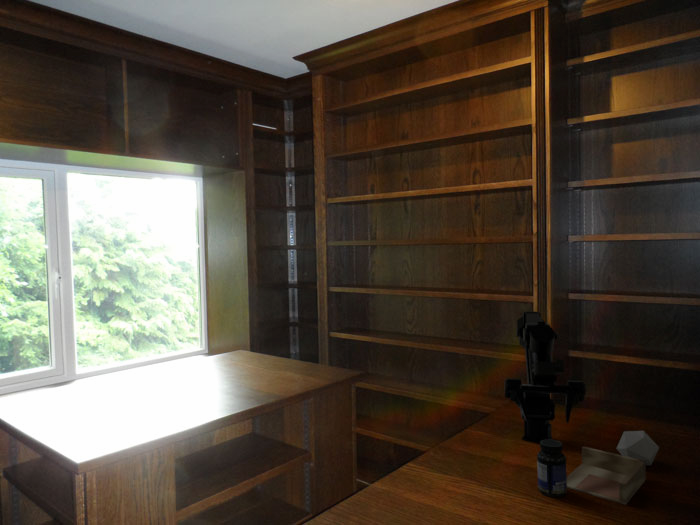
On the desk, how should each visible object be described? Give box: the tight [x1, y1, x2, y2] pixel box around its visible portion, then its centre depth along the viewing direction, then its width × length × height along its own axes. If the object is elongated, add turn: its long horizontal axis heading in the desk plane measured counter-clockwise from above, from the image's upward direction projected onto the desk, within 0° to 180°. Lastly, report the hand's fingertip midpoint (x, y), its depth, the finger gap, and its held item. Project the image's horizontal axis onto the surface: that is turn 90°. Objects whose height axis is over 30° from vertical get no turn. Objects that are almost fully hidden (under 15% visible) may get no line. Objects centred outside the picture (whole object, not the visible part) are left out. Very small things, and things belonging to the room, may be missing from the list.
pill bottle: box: [536, 439, 568, 498], centre depth 115 cm, size 6×6×11 cm
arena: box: [567, 446, 647, 505], centre depth 119 cm, size 14×16×4 cm
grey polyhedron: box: [616, 430, 660, 466], centre depth 129 cm, size 8×9×10 cm
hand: (547, 421), depth 122 cm, fingers open, 9 cm apart
